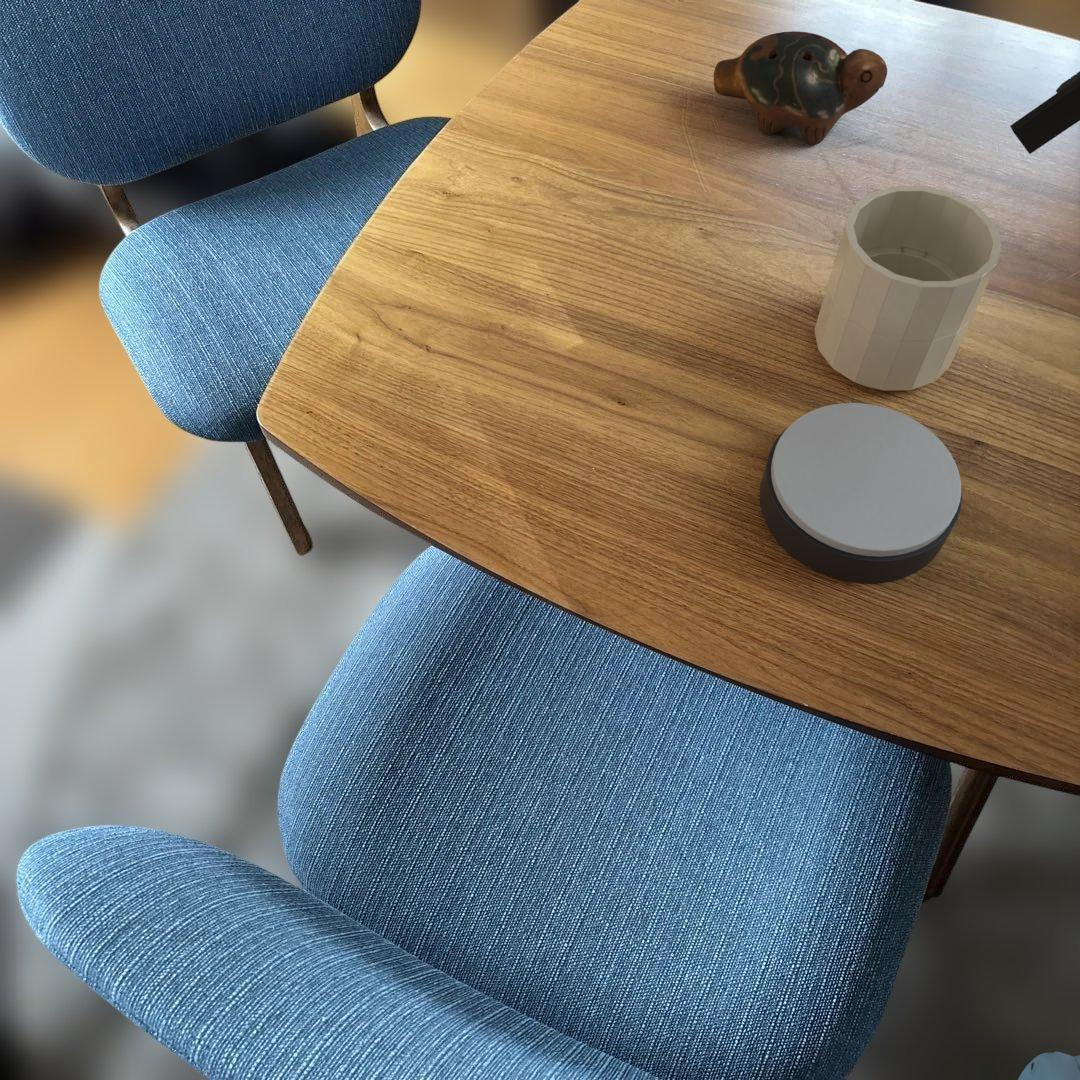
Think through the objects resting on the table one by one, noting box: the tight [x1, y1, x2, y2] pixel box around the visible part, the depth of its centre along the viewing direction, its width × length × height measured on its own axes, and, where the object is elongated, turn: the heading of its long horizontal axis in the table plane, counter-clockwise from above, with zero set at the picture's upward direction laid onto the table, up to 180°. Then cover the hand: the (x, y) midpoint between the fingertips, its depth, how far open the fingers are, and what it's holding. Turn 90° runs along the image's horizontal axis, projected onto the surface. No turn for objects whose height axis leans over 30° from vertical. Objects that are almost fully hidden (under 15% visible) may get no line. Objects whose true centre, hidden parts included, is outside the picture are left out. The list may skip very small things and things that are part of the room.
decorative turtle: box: [713, 30, 888, 146], centre depth 93 cm, size 10×15×8 cm, turn 74°
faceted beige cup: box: [813, 185, 1003, 391], centre depth 75 cm, size 10×10×11 cm
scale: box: [759, 402, 963, 584], centre depth 70 cm, size 13×13×4 cm
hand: (1052, 202), depth 70 cm, fingers open, 13 cm apart
